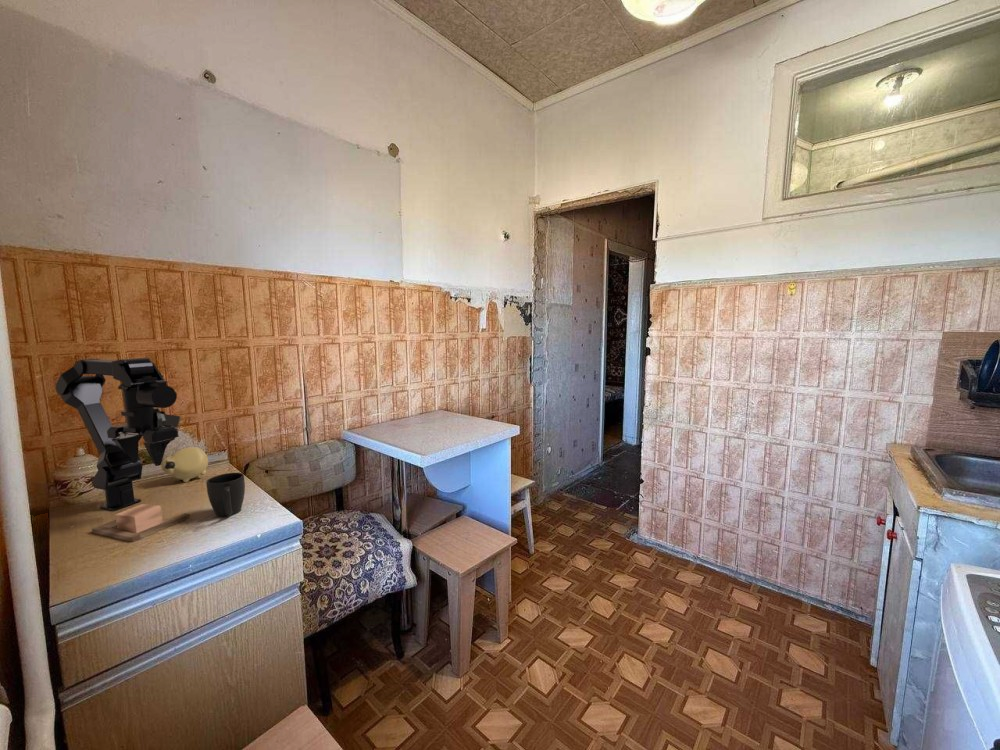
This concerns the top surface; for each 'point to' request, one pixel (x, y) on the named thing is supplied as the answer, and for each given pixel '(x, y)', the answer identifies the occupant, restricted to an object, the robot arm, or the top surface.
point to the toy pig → (186, 463)
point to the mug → (226, 493)
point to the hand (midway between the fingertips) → (146, 463)
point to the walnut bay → (108, 531)
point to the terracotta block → (139, 518)
